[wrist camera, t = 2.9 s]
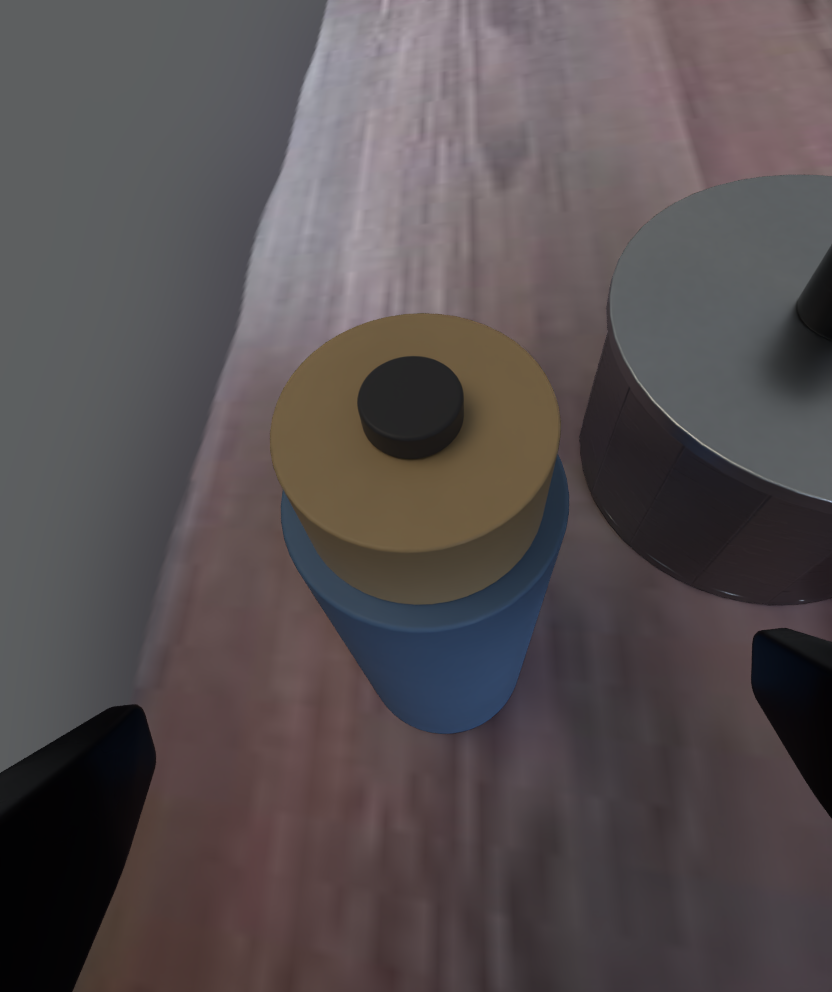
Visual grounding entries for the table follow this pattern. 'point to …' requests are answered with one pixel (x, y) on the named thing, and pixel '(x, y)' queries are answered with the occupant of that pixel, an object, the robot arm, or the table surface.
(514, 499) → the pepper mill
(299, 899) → the table surface
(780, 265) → the pot lid
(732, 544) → the pot
